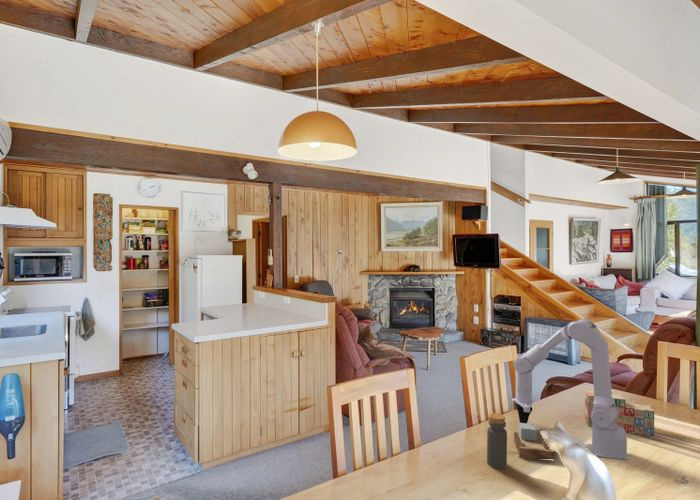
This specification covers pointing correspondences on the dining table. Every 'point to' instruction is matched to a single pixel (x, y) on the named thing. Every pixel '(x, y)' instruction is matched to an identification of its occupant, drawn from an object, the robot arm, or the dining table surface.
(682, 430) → the dining table surface
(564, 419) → the dining table surface
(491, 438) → the bottle
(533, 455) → the holder
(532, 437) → the block
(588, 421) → the stack of blocks
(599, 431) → the robot arm
